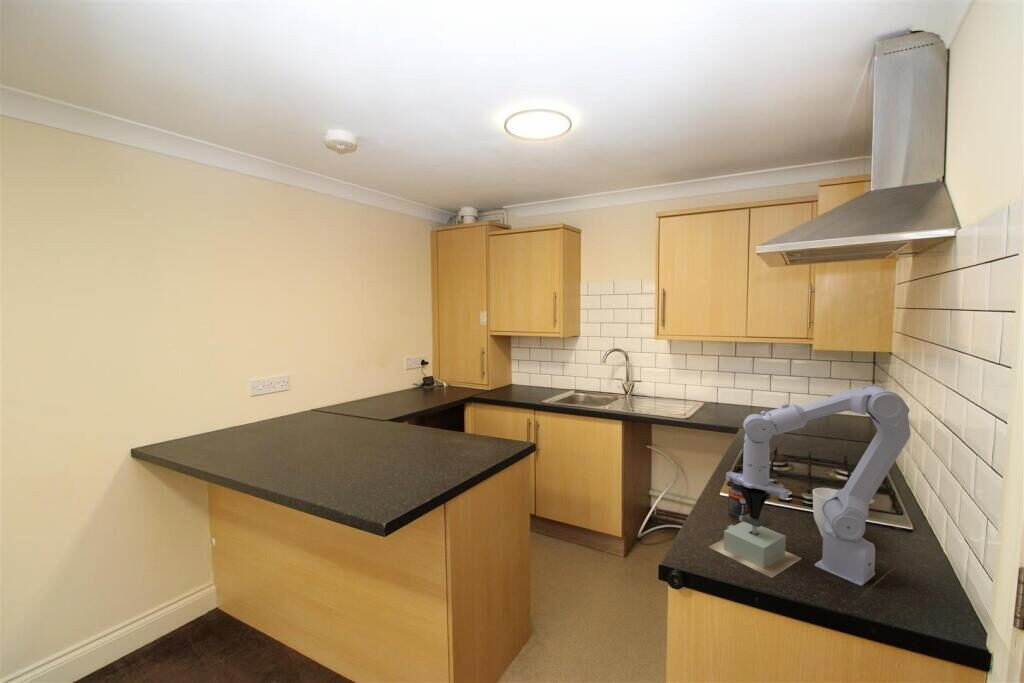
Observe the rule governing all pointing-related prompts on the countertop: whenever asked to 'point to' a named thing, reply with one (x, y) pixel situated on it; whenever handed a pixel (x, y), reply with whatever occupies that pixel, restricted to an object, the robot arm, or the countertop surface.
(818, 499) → the mug
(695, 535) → the countertop surface
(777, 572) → the board
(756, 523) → the grey square plunger
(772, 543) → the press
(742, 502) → the supplement bottle
